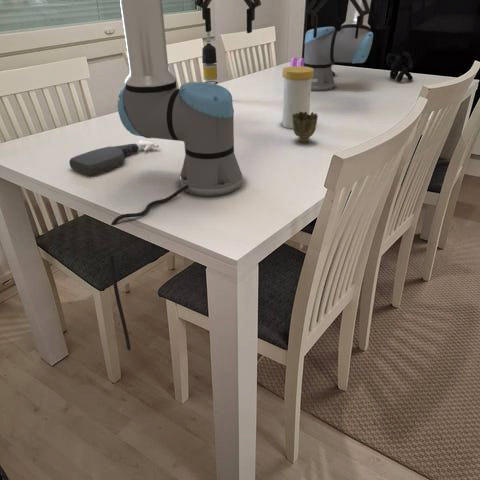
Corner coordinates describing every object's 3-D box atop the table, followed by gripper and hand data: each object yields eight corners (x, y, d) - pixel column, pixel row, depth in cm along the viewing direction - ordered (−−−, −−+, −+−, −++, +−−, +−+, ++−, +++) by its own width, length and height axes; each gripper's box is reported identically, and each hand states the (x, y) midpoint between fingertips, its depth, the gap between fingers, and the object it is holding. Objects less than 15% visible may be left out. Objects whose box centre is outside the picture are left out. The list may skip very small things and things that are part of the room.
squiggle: (400, 92, 202) (376, 71, 205) (417, 76, 202) (392, 56, 205) (405, 81, 191) (380, 59, 194) (423, 64, 191) (397, 42, 194)
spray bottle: (67, 168, 120) (139, 144, 136) (91, 178, 114) (163, 151, 130) (65, 157, 118) (137, 134, 134) (89, 167, 112) (162, 142, 128)
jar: (287, 130, 144) (289, 74, 135) (278, 122, 151) (280, 69, 142) (312, 127, 146) (316, 72, 137) (302, 120, 153) (305, 67, 144)
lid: (288, 80, 136) (288, 73, 134) (278, 74, 143) (278, 67, 142) (318, 78, 138) (318, 71, 136) (306, 72, 145) (306, 65, 144)
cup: (287, 143, 133) (288, 116, 129) (296, 135, 139) (297, 110, 135) (310, 147, 130) (312, 119, 126) (319, 139, 136) (321, 113, 132)
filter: (220, 99, 177) (217, 15, 161) (206, 100, 176) (202, 16, 160) (215, 96, 182) (212, 14, 166) (202, 97, 180) (197, 14, 164)
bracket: (300, 74, 213) (301, 59, 210) (290, 73, 216) (290, 57, 213) (313, 69, 222) (314, 54, 218) (303, 68, 225) (304, 53, 221)
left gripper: (272, -51, 127) (270, 31, 138) (192, -49, 134) (197, 29, 145) (264, -51, 121) (263, 34, 132) (181, -49, 128) (187, 32, 139)
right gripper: (299, -37, 137) (296, 38, 148) (384, -38, 131) (373, 40, 143) (303, -37, 143) (299, 35, 154) (384, -39, 137) (374, 36, 149)
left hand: (228, 32), depth 139 cm, fingers open, 13 cm apart
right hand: (335, 37), depth 149 cm, fingers open, 13 cm apart
